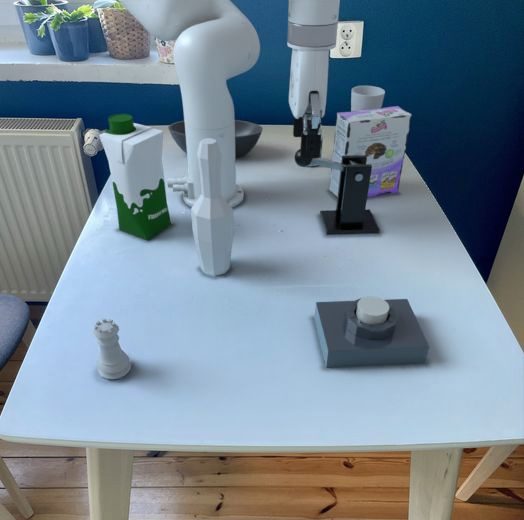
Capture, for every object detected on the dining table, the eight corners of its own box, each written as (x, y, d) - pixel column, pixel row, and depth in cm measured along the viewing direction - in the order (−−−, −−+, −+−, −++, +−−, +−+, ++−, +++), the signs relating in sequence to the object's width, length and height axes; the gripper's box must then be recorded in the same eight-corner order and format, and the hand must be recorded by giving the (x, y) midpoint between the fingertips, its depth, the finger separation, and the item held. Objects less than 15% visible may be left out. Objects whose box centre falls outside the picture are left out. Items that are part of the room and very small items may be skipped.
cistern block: (326, 368, 75) (329, 340, 71) (314, 318, 83) (316, 292, 79) (424, 363, 76) (432, 336, 72) (403, 315, 84) (409, 288, 80)
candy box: (385, 182, 119) (398, 104, 108) (398, 194, 115) (413, 114, 104) (327, 190, 116) (335, 110, 105) (339, 202, 112) (348, 121, 101)
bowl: (261, 165, 125) (261, 138, 121) (166, 163, 125) (164, 136, 121) (263, 145, 134) (263, 120, 130) (175, 143, 134) (172, 117, 130)
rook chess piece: (100, 359, 75) (89, 314, 70) (133, 358, 76) (124, 313, 70) (96, 382, 72) (83, 336, 67) (130, 380, 72) (120, 335, 67)
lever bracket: (326, 236, 101) (333, 170, 93) (319, 216, 107) (325, 152, 99) (378, 235, 102) (390, 169, 94) (368, 214, 108) (379, 151, 99)
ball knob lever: (293, 167, 94) (299, 150, 92) (291, 160, 97) (296, 143, 95) (361, 184, 98) (368, 167, 96) (357, 176, 100) (364, 160, 98)
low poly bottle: (217, 255, 96) (210, 129, 81) (241, 269, 93) (239, 141, 78) (189, 269, 93) (177, 140, 78) (213, 284, 89) (205, 153, 74)
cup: (376, 148, 134) (384, 97, 126) (344, 145, 135) (350, 94, 127) (377, 136, 140) (385, 87, 132) (347, 133, 141) (352, 84, 133)
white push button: (359, 325, 74) (361, 316, 73) (353, 306, 78) (354, 296, 76) (390, 324, 75) (393, 314, 73) (383, 305, 78) (385, 295, 77)
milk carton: (143, 212, 107) (127, 107, 94) (179, 224, 104) (168, 117, 90) (112, 231, 102) (91, 122, 88) (148, 244, 98) (132, 133, 85)
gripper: (281, 23, 88) (279, 129, 100) (294, 48, 76) (290, 167, 87) (327, 22, 89) (319, 128, 100) (347, 48, 76) (336, 166, 87)
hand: (305, 146), depth 94 cm, fingers open, 9 cm apart
